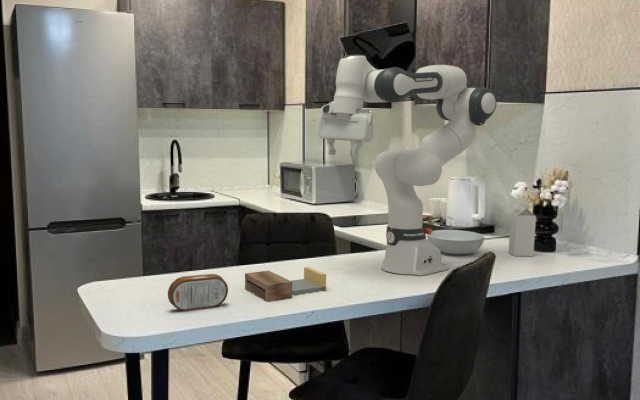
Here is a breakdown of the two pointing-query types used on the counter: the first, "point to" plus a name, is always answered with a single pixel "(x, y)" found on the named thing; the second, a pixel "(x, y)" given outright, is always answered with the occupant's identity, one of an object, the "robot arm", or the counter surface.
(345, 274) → the counter surface
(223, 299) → the tin
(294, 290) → the grey board with lip
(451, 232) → the serving bowl
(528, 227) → the milk carton
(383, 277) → the counter surface
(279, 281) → the overhang shelf
